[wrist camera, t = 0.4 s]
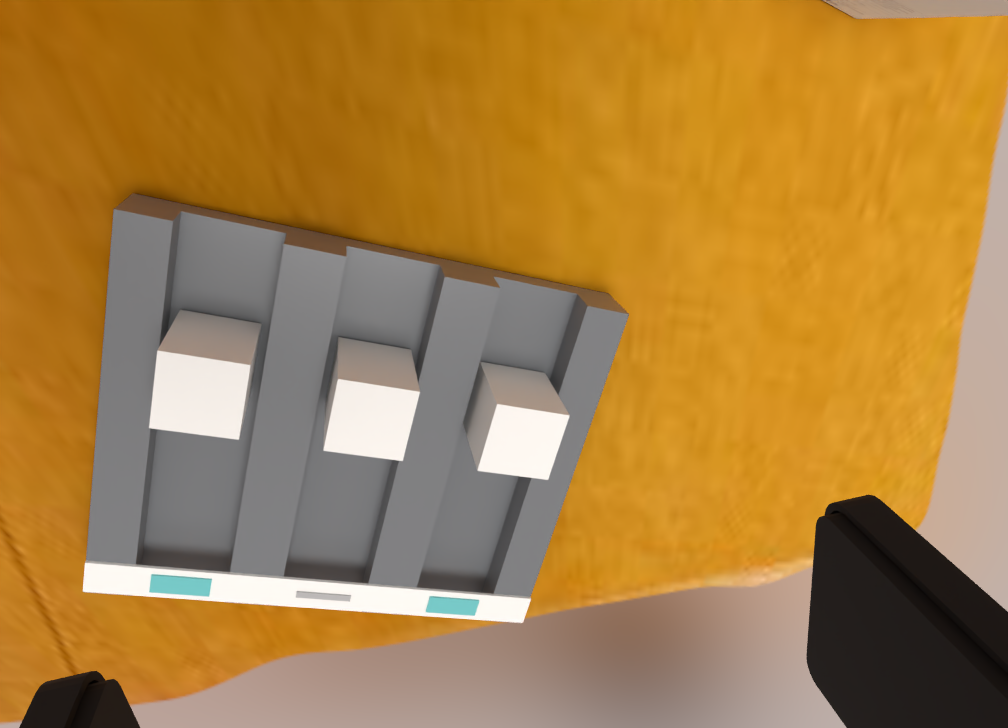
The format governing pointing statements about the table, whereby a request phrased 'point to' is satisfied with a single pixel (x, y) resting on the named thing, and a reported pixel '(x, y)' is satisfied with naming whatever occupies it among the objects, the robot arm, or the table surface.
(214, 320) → the switch tab left
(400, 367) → the switch tab middle
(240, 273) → the switch panel
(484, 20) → the table surface
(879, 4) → the small box
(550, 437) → the switch tab right
